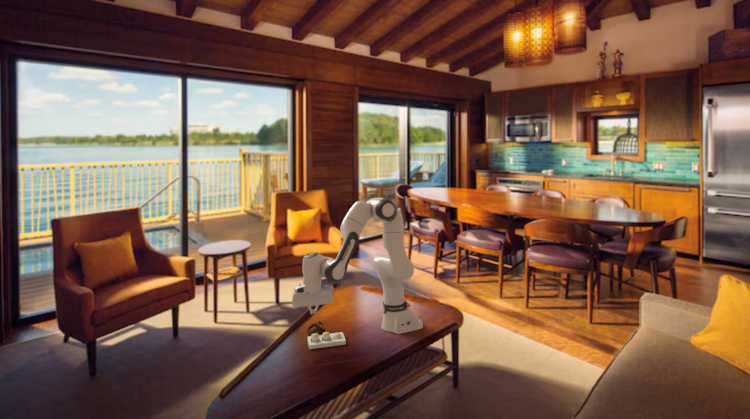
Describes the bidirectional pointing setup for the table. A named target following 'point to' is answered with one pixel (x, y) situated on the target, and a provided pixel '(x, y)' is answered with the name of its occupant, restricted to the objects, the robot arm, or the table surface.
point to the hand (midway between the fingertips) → (313, 313)
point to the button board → (327, 343)
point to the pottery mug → (318, 328)
